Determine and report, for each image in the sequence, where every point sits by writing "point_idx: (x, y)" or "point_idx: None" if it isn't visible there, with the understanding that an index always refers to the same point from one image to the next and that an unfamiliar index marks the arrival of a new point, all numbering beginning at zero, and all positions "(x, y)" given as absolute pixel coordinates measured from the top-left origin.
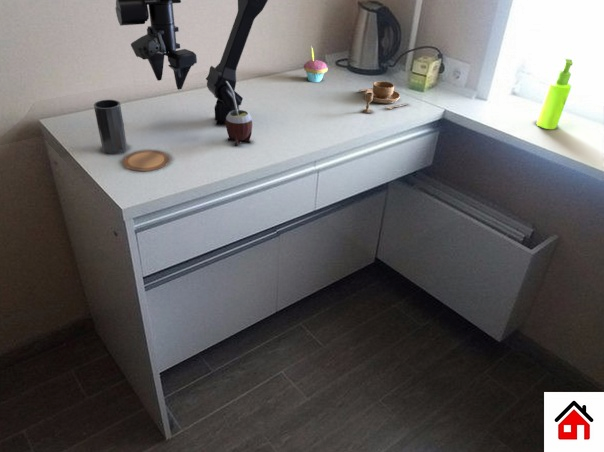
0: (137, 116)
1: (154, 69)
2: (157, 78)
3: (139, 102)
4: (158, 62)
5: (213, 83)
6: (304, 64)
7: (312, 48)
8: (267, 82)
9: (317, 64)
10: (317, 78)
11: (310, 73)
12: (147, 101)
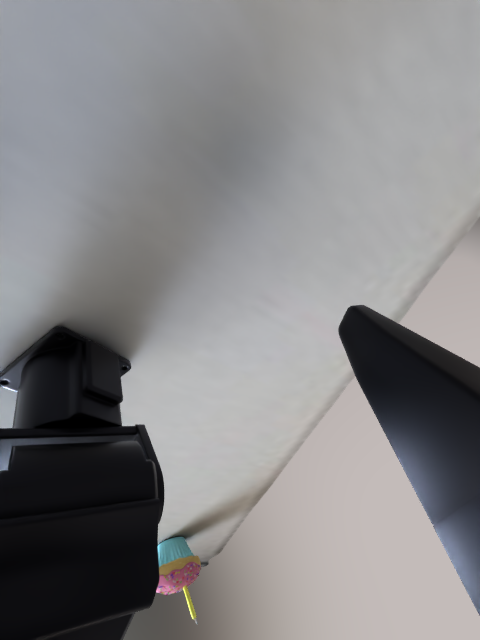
0: (392, 130)
1: (445, 375)
2: (364, 316)
3: (445, 229)
4: (462, 475)
5: (24, 532)
6: (196, 567)
7: (192, 618)
8: (232, 492)
9: (165, 588)
10: (158, 554)
11: (171, 558)
12: (423, 253)
